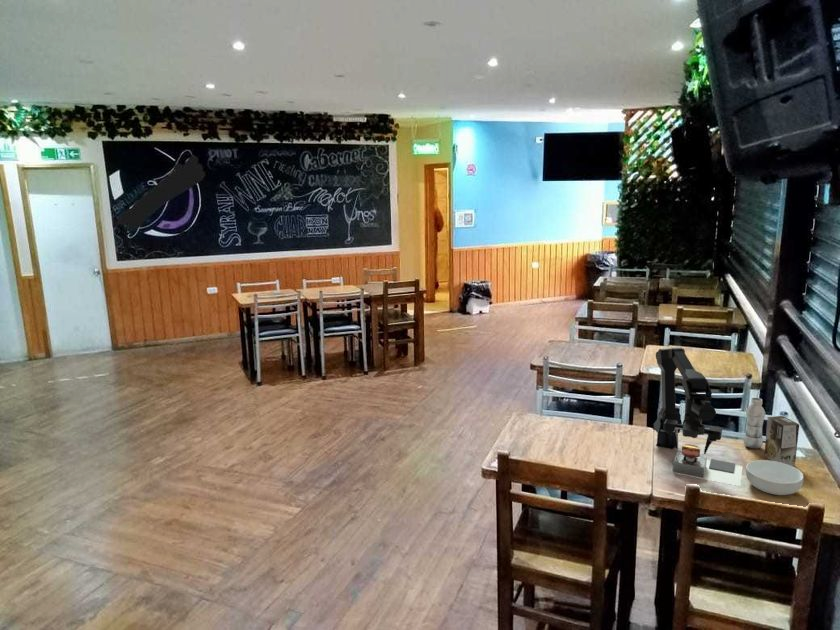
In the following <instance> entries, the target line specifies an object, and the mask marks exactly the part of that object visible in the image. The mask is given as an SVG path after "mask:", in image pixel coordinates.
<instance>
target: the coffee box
mask: <svg viewBox="0 0 840 630" xmlns="http://www.w3.org/2000/svg"><path fill="white" fill-rule="evenodd" d="M766 419H767V420H766V430H765V431H766V432H765V446H764V457H766V458H767V459H768V460H769V461H776V462H781V463H784V464H788V465H790V466H793V467H795V466H796V457H797V450H798V449H797V448H798V440H799V431H800V423H797V422H795V421H794V420H792V419H789V418H788V417H786V416H785V415H784V416H783V415H780V416H779V415H775V416H767V418H766Z"/></svg>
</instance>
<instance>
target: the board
mask: <svg viewBox="0 0 840 630" xmlns="http://www.w3.org/2000/svg"><path fill="white" fill-rule="evenodd" d="M710 462H711V459H710V460H709V459H707V463H706V470H705V473H704V477H703V478H700V477H695V476H690V475H685V474H680V473H675V472H673V473H674V474H676V475H683V476H687V477H692V478H696V479H701V480H707V481H711V482H712V481H713V482H716V483H721V484H727V485H733V486H737V487H741V482H742V475H743V474H742V473H743V467H744V466H742V465H738V464H735V468H734V473H729V472H724V471H719V470H714V469H709V466H710Z"/></svg>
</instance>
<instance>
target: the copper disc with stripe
mask: <svg viewBox="0 0 840 630" xmlns="http://www.w3.org/2000/svg"><path fill="white" fill-rule="evenodd" d="M681 452H682V454H683V455H684V456H686V461H689V462H694V463H695V458H697V457H699V456H701V448H700V446H698V445H695V444H691V443H689V444H686V443H685V444H682V446H681Z"/></svg>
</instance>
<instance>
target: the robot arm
mask: <svg viewBox="0 0 840 630" xmlns="http://www.w3.org/2000/svg"><path fill="white" fill-rule="evenodd" d="M655 359H656V364H657V366H658V367H659V369H660V371H661V394H662V395H661V398H662V399H661V401H662V402H661V403H662V404H661V406H662V407H661V408H660V410H659V411H658V414H657V419H656V420H655V422H654V423H653V430H654V431H655V432H656V433H657V436H656V437H657V439H656V444H655V447H659V448H665V449H671V450H674V449H676V450H678V449H679V448H678V447H679V434H680V432H681V431H682V436H683V437H685V438H687V437H688V438H692V439H697V438H698V436H701V435H702V436H704V435H705V434H706V435H707V437H706V442H705V446H704V450H703V455H706V454H707V452H708V449H709V448H710V445H712V443H713V442H717V441H720V440H721V439H722V434H723V429H722V427H720V426H713V425H710V426H709V427H708V428H706V427H705V424H702V423H703V422H710V421H713V419H714V418H715V417H716V415H717V412H716V409H715V408H714V406H712V405H711V404H712V402H711V401H710V400H712V398H713V397H712V394H713V393H712V390H711V387H710V383H709V381H708V380H707V378H706V376H704V374H702V373H701V372H699V371H697V370H696V369H695V367H694V366H693V364H692V362H691V361H690V359H689V358H688V356H687V354H686V352H685V349H684V348H682V347H671V348H659V349H658V351H656V352H655ZM677 370H678V372H679V374H680V375H681V377H682V383H681V384H682V385H681V386H682V388H683V391H684V393H683V394H684V395H685V401H684V402H685V403H684V415H683V417H684V418H683V422H682V415H681V413H680V412H678V410H677V408H676V371H677Z"/></svg>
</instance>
